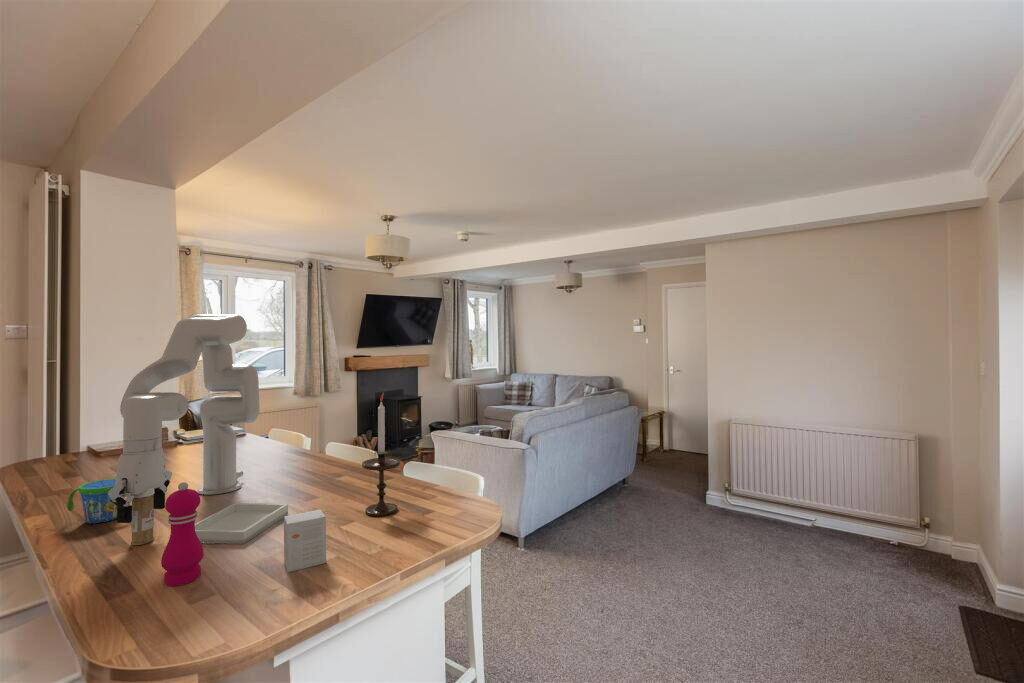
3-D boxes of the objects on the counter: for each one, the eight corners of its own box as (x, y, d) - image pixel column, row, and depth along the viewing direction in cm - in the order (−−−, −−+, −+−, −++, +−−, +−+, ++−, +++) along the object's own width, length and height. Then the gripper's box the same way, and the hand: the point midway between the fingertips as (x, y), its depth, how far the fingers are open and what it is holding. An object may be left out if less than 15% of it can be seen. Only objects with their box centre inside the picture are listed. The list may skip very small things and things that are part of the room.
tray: (234, 513, 134) (234, 503, 134) (288, 514, 133) (288, 504, 133) (181, 542, 114) (181, 530, 114) (243, 544, 113) (243, 531, 113)
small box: (321, 554, 108) (321, 508, 108) (326, 563, 103) (326, 516, 103) (283, 563, 104) (283, 515, 104) (286, 573, 99) (286, 523, 99)
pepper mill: (175, 571, 100) (175, 477, 100) (210, 569, 100) (211, 477, 101) (152, 588, 93) (152, 488, 93) (190, 586, 93) (190, 487, 94)
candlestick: (408, 507, 139) (407, 390, 139) (383, 520, 129) (383, 393, 129) (379, 502, 143) (379, 389, 144) (353, 514, 133) (353, 392, 134)
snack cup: (145, 510, 137) (146, 476, 137) (124, 524, 127) (125, 486, 127) (83, 515, 134) (83, 480, 134) (56, 529, 123) (57, 490, 124)
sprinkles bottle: (153, 543, 114) (153, 488, 114) (129, 547, 112) (129, 491, 112) (154, 536, 118) (155, 483, 118) (131, 541, 116) (132, 486, 116)
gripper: (157, 439, 124) (156, 503, 124) (95, 453, 107) (94, 528, 106) (183, 439, 124) (183, 504, 123) (126, 453, 106) (125, 528, 106)
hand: (142, 515), depth 115 cm, fingers open, 9 cm apart
